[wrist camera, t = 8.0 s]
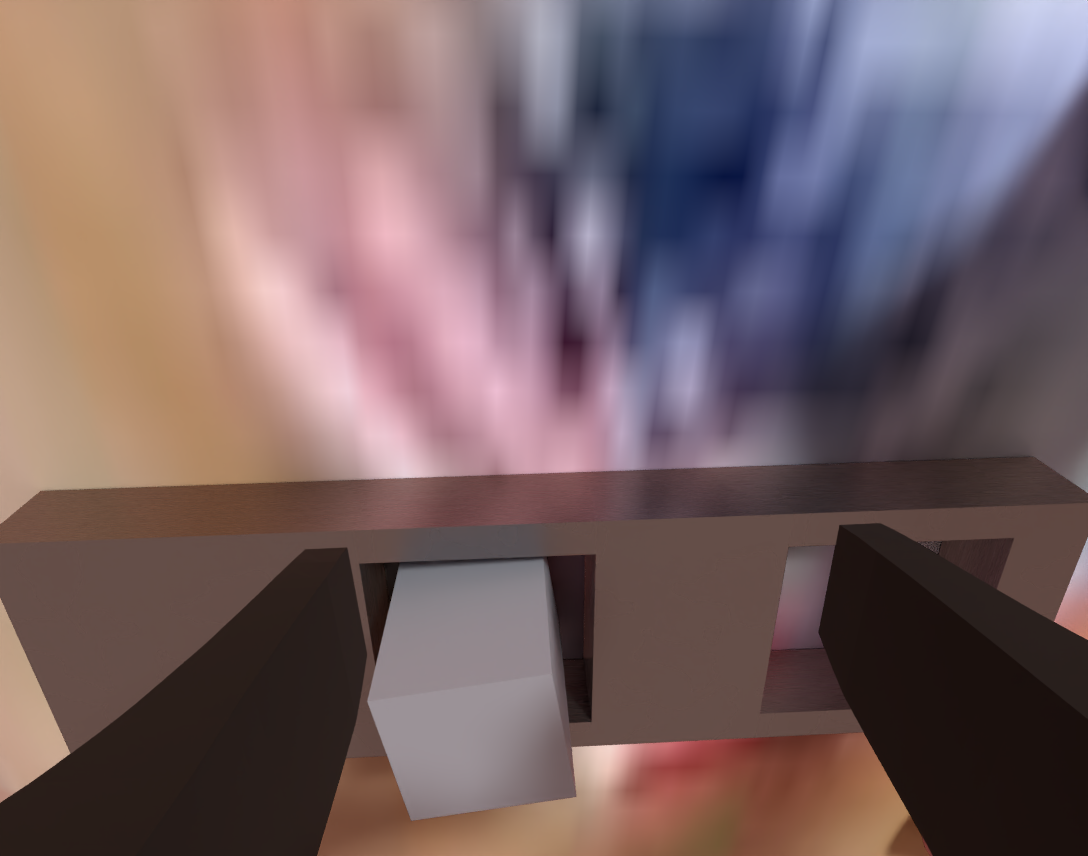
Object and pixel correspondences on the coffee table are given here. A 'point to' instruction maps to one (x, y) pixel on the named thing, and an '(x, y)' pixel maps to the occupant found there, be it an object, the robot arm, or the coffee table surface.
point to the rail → (525, 531)
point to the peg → (473, 687)
